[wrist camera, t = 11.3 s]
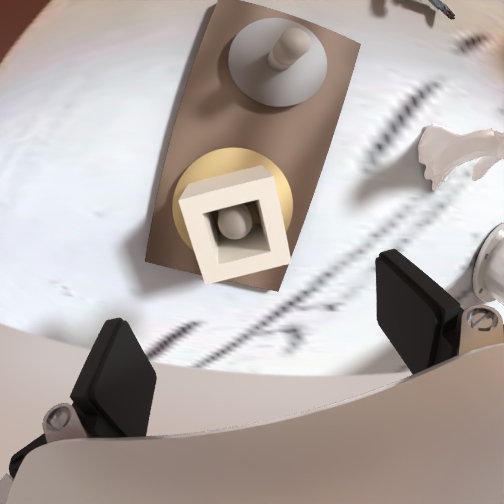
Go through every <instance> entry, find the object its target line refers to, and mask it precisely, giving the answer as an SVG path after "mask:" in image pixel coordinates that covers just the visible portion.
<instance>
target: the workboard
mask: <svg viewBox="0 0 504 504" xmlns="http://www.w3.org/2000/svg"><path fill="white" fill-rule="evenodd" d="M360 45H361V44H360V43H357V42H355V41H353V40H351V39H349V38H347V37H345V36H342V35H340V34H338V33H336V32H333V31H331V30H329V29H326V28H324V27H321V26H319V25H316V24H314V23H311V22H309V21H306V20H303V19H300V18H298V17H295V16H292V15H289V14H286V13H283V12H280V11H277V10H273V9H270V8H267V7H263V6H260V5H256V4H252V3H248V2H244V1H240V0H218V2H217V4H216V6H215V9H214V11H213V14H212V16H211V18H210V21H209V23H208V26H207V29H206V31H205V34H204V36H203V39H202V42H201V44H200V47H199V50H198V53H197V55H196V58H195V61H194V64H193V67H192V70H191V73H190V76H189V79H188V82H187V85H186V88H185V91H184V94H183V98H182V101H181V104H180V108H179V111H178V114H177V118H176V121H175V125H174V129H173V132H172V136H171V140H170V143H169V147H168V151H167V155H166V159H165V163H164V167H163V172H162V176H161V180H160V185H159V189H158V194H157V198H156V203H155V208H154V213H153V218H152V223H151V229H150V234H149V240H148V246H147V252H146V258H145V262H149V263H153V264H157V265H161V266H165V267H170V268H174V269H178V270H182V271H187V272H191V273H195V274H200V275H202V273H201V270H200V267H199V264H198V261H197V258H196V255H195V252H194V249H193V246H192V243H191V240H190V237H189V233H188V230H187V227H186V224H185V221H184V217H183V214H182V211H181V208H180V204H179V201H178V200H179V199H180V197H181V195H182V194H183V192H184V190H185V189H186V187H187V185H188V184H190V183H194V182H197V181H201V180H204V179H208V178H212V177H216V176H220V175H223V174H227V173H231V172H235V171H239V170H244V169H248V168H252V167H256V166H260V165H261V166H263V167H264V168H265V169H266V170H267V171H269V172H270V173H271V174H272V175H273V176H274V178H275V183H276V188H277V192H278V197H279V202H280V207H281V212H282V216H283V221H284V226H285V231H286V236H287V241H288V247H289V252H290V257H291V256H292V254H293V251H294V248H295V246H296V243H297V240H298V237H299V234H300V232H301V229H302V226H303V223H304V220H305V218H306V215H307V212H308V209H309V206H310V203H311V201H312V198H313V195H314V192H315V189H316V186H317V183H318V180H319V177H320V174H321V171H322V168H323V165H324V162H325V159H326V156H327V153H328V150H329V147H330V144H331V141H332V138H333V135H334V132H335V128H336V125H337V122H338V119H339V116H340V113H341V109H342V106H343V103H344V100H345V96H346V93H347V90H348V86H349V83H350V80H351V76H352V73H353V70H354V66H355V63H356V59H357V56H358V52H359V49H360ZM211 212H212V215H213V219H214V222H215V226H216V229H217V233H218V235H219V234H223V235H224V236H225V237H227V238H229V239H234V240H236V239H241V238H243V237H245V236H246V235H247V234H248V233H249V232H250V230H251V228H252V226H254V225H258V224H260V223H259V219H258V215H257V211H256V206H255V202H254V201H250V202H246V203H242V204H238V205H234V206H230V207H226V208H222V209H218V210H214V211H211ZM288 265H289V264H286V265H282V266H279V267H275V268H271V269H267V270H263V271H259V272H255V273H251V274H247V275H243V276H239V277H235V278H231V279H227V280H226V281H231V282H235V283H240V284H244V285H249V286H254V287H258V288H263V289H268V290H273V291H277V292H278V291H279V288H280V286H281V283H282V281H283V278H284V275H285V273H286V270H287V267H288Z"/></svg>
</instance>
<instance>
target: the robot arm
mask: <svg viewBox="0 0 504 504" xmlns="http://www.w3.org/2000/svg"><path fill="white" fill-rule="evenodd" d="M375 264H376V294H377V321H378V324H379V326H380V327H381V329H382V330H383V332H384V333H385V335H386V336H387V337H388V339H389V340H390V342H391V343H392V345H393V346H394V347H395V349H396V350H397V352H398V353H399V355H400V356H401V358H402V359H403V361H404V362H405V363H406V365H407V366H408V368H409V369H410V371H411V372H412V374H413V375H411V376H409V377H407V378H404V379H401V380H399V381H396V382H394V383H391V384H388V385H386V386H383V387H380V388H378V389H375V390H372V391H369V392H367V393H364V394H361V395H358V396H355V397H352V398H349V399H346V400H343V401H340V402H337V403H333V404H330V405H326V406H323V407H319V408H316V409H313V410H308V411H305V412H301V413H297V414H293V415H289V416H285V417H280V418H276V419H271V420H267V421H262V422H257V423H252V424H247V425H241V426H236V427H229V428H223V429H217V430H210V431H202V432H193V433H184V434H175V435H162V436H147V437H146V433H147V427H148V421H149V415H150V410H151V405H152V400H153V394H154V390H155V384H156V379H157V378H156V373H155V370H154V369H153V367H152V365H151V364H150V362H149V360H148V359H147V357H146V355H145V353H144V352H143V350H142V348H141V346H140V344H139V343H138V341H137V339H136V337H135V335H134V333H133V332H132V330H131V328H130V326H129V324H128V322H127V321H123V320H122V319H121V318H115V319H111V320H107V321H106V322H105V323H104V325H103V327H102V329H101V331H100V333H99V335H98V337H97V339H96V341H95V343H94V345H93V347H92V349H91V351H90V353H89V355H88V358H87V360H86V362H85V364H84V366H83V368H82V370H81V373H80V375H79V377H78V379H77V381H76V384H75V386H74V388H73V390H72V393H71V395H70V398H71V399H72V400H73V401H74V402H73V404H72V405H70V404H68V403H61V404H58V405H56V406H54V407H53V408H51V409H50V410H49V411H48V412H47V414H46V415H45V417H44V419H43V430H44V434H42V435H41V436H40V437H38V438H37V439H36V440H34V441H33V442H31V443H30V444H28V445H27V446H26V447H24V448H23V449H21V450H20V451H18V452H17V453H16V454H14V455H13V456H12V458H11V461H10V465H9V472H10V476H9V475H8V474H6V475H5V476H4V477H3V478H2V479H1V480H0V504H504V325H503V320H502V317H501V315H500V314H499V312H498V311H497V310H495V309H494V308H492V307H489V306H486V305H474V306H470V307H469V308H467V309H466V310H465V311H464V310H463V309H462V308H461V307H460V303H458V302H457V301H456V300H455V299H454V298H453V297H452V296H451V295H450V294H448V293H447V292H446V291H445V290H444V289H443V288H442V287H440V286H439V285H438V284H437V283H436V282H435V281H433V280H432V279H431V278H430V277H429V276H428V275H426V274H425V273H424V272H423V271H422V270H420V269H419V268H418V267H417V266H416V265H414V264H413V263H412V262H411V261H410V260H408V259H407V258H406V257H405V256H403V255H402V254H401V253H400V252H398V251H397V250H396V249H391V250H388V251H384V252H381V253H380V254H379V257H378V258H376V260H375ZM473 290H474V293H475V295H476V296H477V297H478V298H479V299H480V300H482V301H483V302H491V301H494V300H498V301H499V302H500V303H501V304H502V305H504V223H502V224H500V225H499V226H498V227H496V228H495V229H494V230H493V231H492V232H491V234H490V235H489V236H488V238H487V239H486V241H485V242H484V244H483V246H482V248H481V250H480V252H479V255H478V257H477V260H476V263H475V267H474V272H473Z"/></svg>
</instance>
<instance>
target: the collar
mask: <svg viewBox="0 0 504 504" xmlns="http://www.w3.org/2000/svg"><path fill="white" fill-rule="evenodd" d="M178 201H179V204H180V208H181V211H182V214H183V217H184V221H185V224H186V227H187V230H188V233H189V237H190V240H191V243H192V246H193V249H194V252H195V255H196V258H197V261H198V264H199V267H200V270H201V273H202V276H203V279H204V282H205V285H206V284H210V283H214V282H219V281H223V280H227V279H231V278H235V277H239V276H243V275H247V274H251V273H255V272H259V271H263V270H267V269H271V268H275V267H279V266H282V265H286V264H290V263H292V262H291V257H290V252H289V247H288V241H287V236H286V231H285V226H284V221H283V216H282V212H281V207H280V202H279V197H278V192H277V188H276V183H275V178H274V176H273V175H272V174H271V173H270V172H269V171H267V170H266V169H265V168H264V167H263V166H261V165H260V166H256V167H252V168H248V169H244V170H239V171H235V172H231V173H227V174H223V175H220V176H216V177H212V178H208V179H204V180H201V181H197V182H194V183H190V184H188V185H187V187H186V189H185V190H184V192H183V194H182V195H181V197H180V199H179V200H178ZM250 201H254V202H255V206H256V211H257V215H258V219H259V223H260V224H258V225H254V226H252V228H251V230H250V232H249V233H248V234H247V235H246V236H245V237H243V238H241V239H236V240H234V239H229V238H227V237H225V236H224V235H223V234H219V235H218V233H217V229H216V226H215V222H214V219H213V215H212V212H211V211H214V210H218V209H222V208H226V207H230V206H234V205H238V204H242V203H246V202H250Z"/></svg>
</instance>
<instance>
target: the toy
mask: <svg viewBox="0 0 504 504" xmlns="http://www.w3.org/2000/svg"><path fill="white" fill-rule="evenodd" d="M419 1H422V0H419ZM429 1H430V2H431V3H432V4H433V5H434V6H435V7H436V8H437V9H438V10H439V9H440V11H442V12H443V13H444V14H445V15H446V16H447V17H448V18H450V19H451V20H452V19H455V18H454V16H455V15H454V14H453V12H452V11H451V10H450V9H449V8H448V7H447V6H446V5H445V4H443V3H442V2H441V1H440V0H429Z"/></svg>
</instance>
